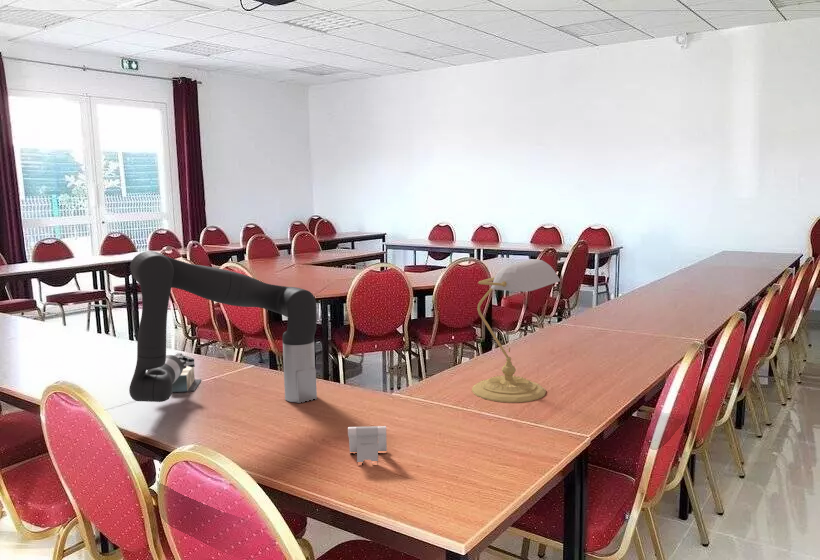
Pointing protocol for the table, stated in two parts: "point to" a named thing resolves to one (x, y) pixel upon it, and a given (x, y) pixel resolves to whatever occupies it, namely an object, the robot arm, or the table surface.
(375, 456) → the portable electronic device stand
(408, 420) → the table surface
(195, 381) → the gray rectangular block
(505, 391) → the desk lamp
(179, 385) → the birch block
